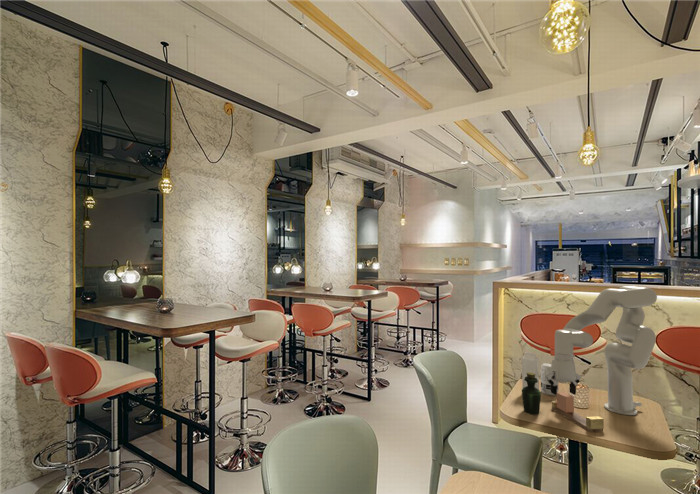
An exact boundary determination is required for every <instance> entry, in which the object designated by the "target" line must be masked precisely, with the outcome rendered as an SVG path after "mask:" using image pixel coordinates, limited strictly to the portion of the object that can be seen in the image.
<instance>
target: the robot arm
mask: <svg viewBox="0 0 700 494" xmlns="http://www.w3.org/2000/svg"><path fill="white" fill-rule="evenodd" d="M657 299H658V295H657V292H656V291H655V290H654V289H652V288H650V287H645V286H633V285H624V286H620V287H618V288H605V289H603V290H602V291H600V293H599V294H598V295H597V296H596V298H595V299H594V301H593V302H592V303H591V304H590V305H589V307H588V309H586V310H584V311H583V312H580V313H579V314H578V315H575V316H574V317H572V318H571V319H570V320H569V321H568V322H567V323H566V324H565V325H564V327H562V329H556V330H555V331H554V358H552V361H551V363H550V364H551V373H549V374H547V375H546V378H547V381H548V382H549V383H550V384H551V393H553V394H555V395H554V396H557V386H556V384H557V383H558V384H559V383H569V393H570V394H572V395H577V387H578V384H580V383H579V382H580V380H581V378H582V376H581V375H580V374H579V373H577V369H576V364H575V363H576V362H575V361H574V358H575V357H576V356H575V354H574V348H575V347H577V348H583V349H586V348H589V347H591V346H592V345H593V343H594V338H593V336H592V335H591V334H590V333H588V332H586V331H583V329H584V328H586V327H589V326H592V325H597V324H602V323H604V322H606V321H607V320H608V319H609V317H610V315H611V314H612V313H613V312H614V311H615V310H616V308H622V313H621V317H620V319H619V322H618V324H617V328H616V329H615V337H616V338H617V339H618V340H619V341H622V342H624V343H627V344H623V343H620V342H610V343H608V344H606V345H605V347H604V350H603V352H604V353H603V354H604V356H605V361H606V368H607V369H606V370H607V373H606V374H607V402H605V403H604V404H603V405H604V408H605V409H606V410H608V411H610V412H613V413H615V414H619V415H624V416H636V415H637V414H638V410H637V409H636V407H642V405H643V404H642V402H641V401H634V399H633V398H634V397H633V396H634V395H633V394H634V391H633V373H632V369H635V370H641V369H643V368H645V367H646V366H647V364H648V363H649V361H650V358H651V355H652V352H653V350H654V348H655V346H656V340H657V337H656V334H655V331H654V330H653V329H652V328H651V327H648V326H645V325H644V321H645V316H646V315H645V311H644V309H643V307H650V306H653V305H654V304H656V302H657ZM628 344H631V346H630V345H628ZM551 379H552V380H551ZM554 381H555V382H554Z"/></svg>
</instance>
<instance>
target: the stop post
mask: <svg viewBox="0 0 700 494" xmlns="http://www.w3.org/2000/svg"><path fill="white" fill-rule="evenodd" d="M585 418H586V427H588V428H590V429H603V430H604V427H605V425H604V424H605V423H604V422H605V421H604V418H603V417H601V416H600V415H599V416H598V415H597V416H586V417H585Z"/></svg>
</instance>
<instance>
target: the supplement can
mask: <svg viewBox="0 0 700 494" xmlns="http://www.w3.org/2000/svg"><path fill="white" fill-rule="evenodd" d="M551 364H552V363H549V362H543V363H541V365H540V392H541V393H543V394H544V395H546V396H556V395H555V394H553V393H551V384H550V383H549V382H548V381H547V378H546V375H547V374H549V373H551ZM551 380H552V379H551ZM554 382H555V381H554ZM556 386H557V392H559V382H558V383H557V384H556Z"/></svg>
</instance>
